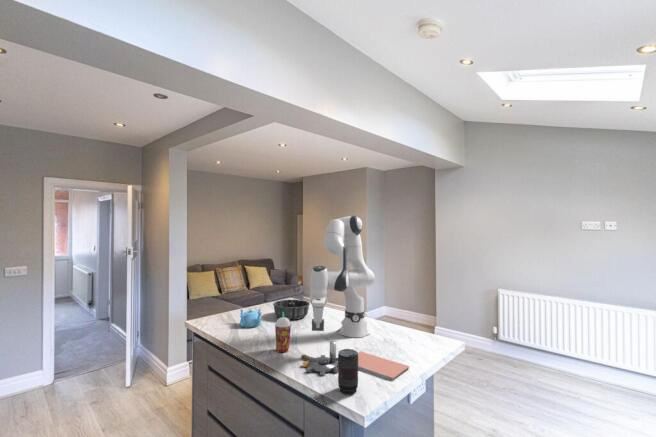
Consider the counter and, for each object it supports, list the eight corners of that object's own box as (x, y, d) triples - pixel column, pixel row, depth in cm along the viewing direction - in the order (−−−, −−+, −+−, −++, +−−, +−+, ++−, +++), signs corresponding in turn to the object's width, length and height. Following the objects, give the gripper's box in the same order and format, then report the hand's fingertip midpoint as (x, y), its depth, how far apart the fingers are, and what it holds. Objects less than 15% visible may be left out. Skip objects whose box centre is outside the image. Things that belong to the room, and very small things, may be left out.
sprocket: (304, 357, 160) (304, 336, 160) (341, 358, 160) (341, 336, 160) (301, 374, 141) (301, 350, 141) (343, 375, 141) (344, 350, 142)
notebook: (340, 365, 154) (340, 360, 154) (360, 354, 167) (360, 350, 167) (391, 383, 136) (391, 378, 136) (409, 370, 149) (409, 365, 149)
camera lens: (333, 389, 130) (334, 351, 130) (349, 383, 134) (349, 347, 135) (346, 398, 123) (346, 357, 123) (362, 392, 128) (362, 353, 128)
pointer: (301, 358, 160) (301, 355, 160) (304, 357, 161) (304, 354, 161) (306, 360, 157) (306, 357, 157) (309, 359, 158) (309, 356, 158)
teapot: (237, 329, 203) (238, 313, 204) (239, 322, 218) (239, 307, 218) (261, 328, 207) (262, 312, 207) (261, 321, 221) (261, 306, 221)
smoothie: (273, 348, 172) (273, 310, 172) (288, 347, 175) (289, 309, 175) (276, 354, 164) (277, 314, 164) (292, 352, 167) (293, 313, 167)
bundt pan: (296, 310, 253) (296, 297, 253) (317, 318, 232) (317, 303, 233) (266, 315, 236) (266, 302, 236) (285, 324, 216) (285, 309, 216)
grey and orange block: (311, 328, 166) (312, 318, 166) (323, 328, 166) (324, 319, 166) (311, 330, 163) (312, 320, 163) (323, 331, 163) (324, 320, 163)
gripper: (313, 293, 174) (312, 319, 175) (311, 304, 154) (310, 333, 154) (324, 293, 175) (324, 319, 175) (325, 304, 154) (324, 333, 154)
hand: (317, 326), depth 164 cm, fingers closed on grey and orange block, 3 cm apart
